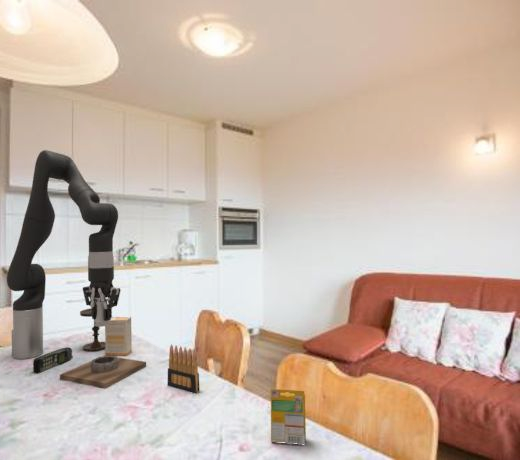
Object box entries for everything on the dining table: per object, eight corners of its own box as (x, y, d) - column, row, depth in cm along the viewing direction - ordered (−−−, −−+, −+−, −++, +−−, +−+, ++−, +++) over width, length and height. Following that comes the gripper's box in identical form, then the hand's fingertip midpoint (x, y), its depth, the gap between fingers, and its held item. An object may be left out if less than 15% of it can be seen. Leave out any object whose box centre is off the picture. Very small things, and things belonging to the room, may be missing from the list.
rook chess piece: (112, 323, 118) (112, 299, 118) (101, 327, 114) (101, 301, 114) (101, 322, 119) (101, 298, 119) (90, 326, 115) (90, 300, 115)
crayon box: (305, 438, 80) (305, 385, 80) (305, 446, 77) (304, 391, 77) (272, 435, 81) (272, 383, 81) (270, 443, 78) (270, 389, 78)
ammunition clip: (199, 391, 103) (199, 348, 103) (195, 393, 102) (195, 350, 102) (171, 383, 109) (171, 343, 109) (167, 385, 107) (166, 344, 107)
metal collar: (85, 370, 115) (85, 362, 115) (104, 362, 122) (104, 354, 122) (105, 374, 112) (105, 366, 112) (123, 365, 120) (123, 357, 120)
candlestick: (96, 353, 135) (95, 259, 135) (73, 350, 139) (72, 258, 139) (117, 345, 145) (116, 256, 145) (96, 342, 149) (95, 256, 149)
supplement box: (132, 351, 137) (132, 316, 137) (126, 355, 133) (126, 319, 133) (111, 350, 138) (111, 316, 138) (104, 355, 133) (104, 319, 133)
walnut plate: (59, 379, 112) (59, 374, 112) (104, 359, 129) (104, 355, 129) (105, 388, 106) (105, 383, 106) (146, 366, 122) (146, 361, 122)
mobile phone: (37, 359, 116) (76, 344, 130) (30, 358, 118) (70, 343, 132) (37, 375, 117) (76, 358, 131) (31, 374, 118) (70, 357, 132)
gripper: (74, 266, 116) (75, 320, 116) (109, 267, 110) (110, 324, 110) (93, 264, 122) (94, 315, 123) (127, 265, 117) (127, 318, 117)
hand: (101, 319), depth 116 cm, fingers closed on rook chess piece, 4 cm apart
